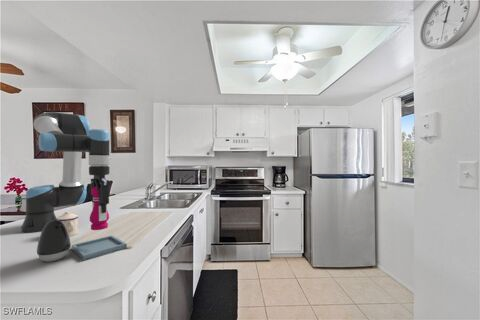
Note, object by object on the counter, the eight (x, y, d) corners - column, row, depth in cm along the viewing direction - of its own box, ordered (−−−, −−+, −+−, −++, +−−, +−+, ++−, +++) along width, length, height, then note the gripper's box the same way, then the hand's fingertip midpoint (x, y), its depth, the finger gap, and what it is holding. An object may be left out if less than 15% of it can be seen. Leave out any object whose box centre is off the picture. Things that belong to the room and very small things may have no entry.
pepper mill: (99, 231, 93) (99, 182, 93) (85, 230, 94) (85, 182, 94) (113, 226, 100) (113, 181, 100) (99, 225, 101) (99, 180, 101)
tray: (71, 249, 96) (71, 245, 96) (111, 239, 109) (111, 235, 109) (83, 260, 86) (83, 255, 86) (126, 248, 98) (126, 243, 98)
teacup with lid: (53, 234, 114) (53, 212, 114) (74, 230, 121) (74, 208, 121) (60, 240, 107) (60, 216, 107) (83, 235, 114) (83, 212, 114)
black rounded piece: (43, 267, 81) (42, 225, 80) (32, 260, 86) (32, 220, 86) (75, 257, 89) (75, 218, 89) (64, 251, 95) (64, 215, 95)
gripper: (118, 166, 93) (118, 221, 94) (100, 164, 106) (100, 213, 106) (97, 166, 88) (98, 225, 88) (81, 165, 100) (81, 216, 101)
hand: (99, 218), depth 97 cm, fingers closed on pepper mill, 7 cm apart
